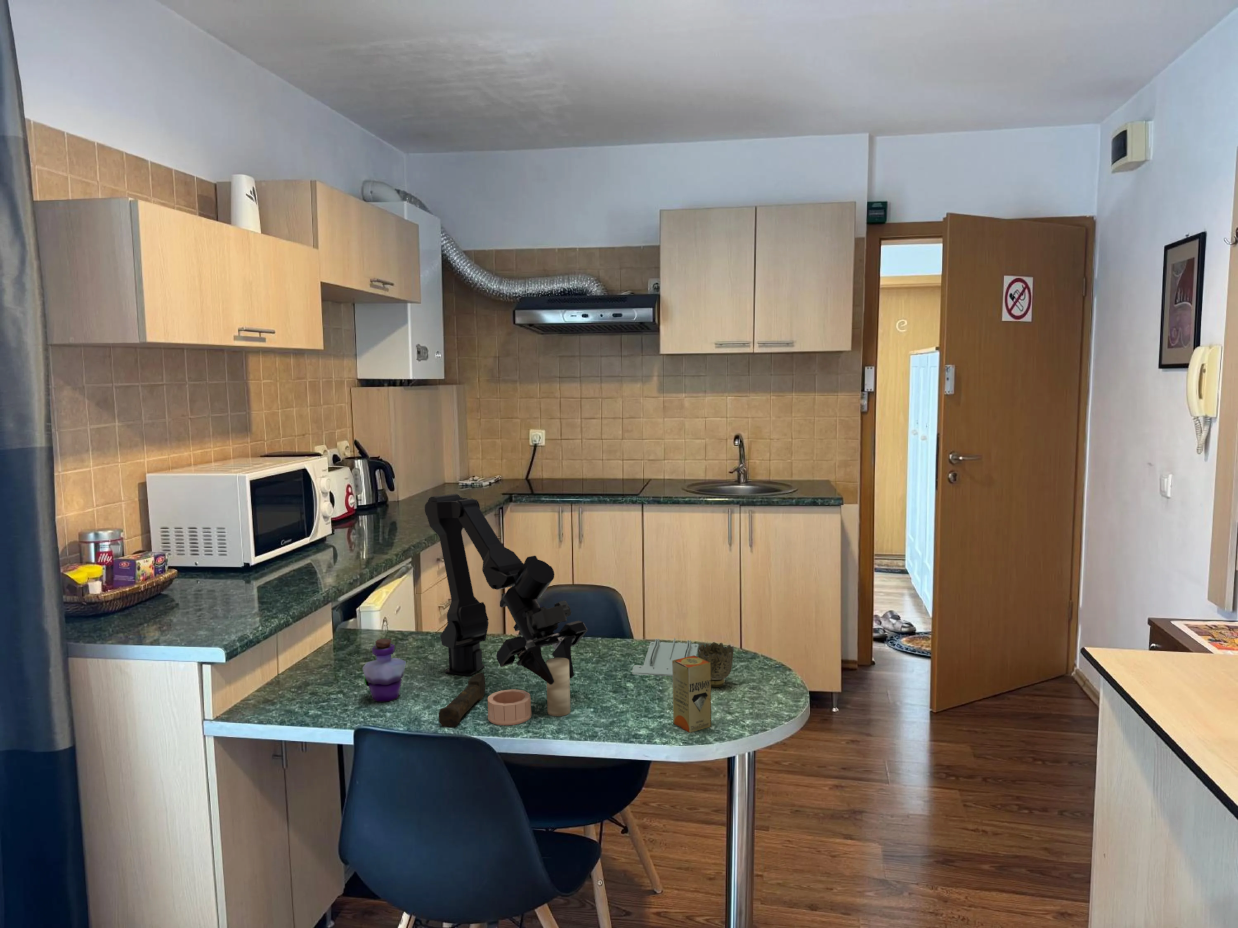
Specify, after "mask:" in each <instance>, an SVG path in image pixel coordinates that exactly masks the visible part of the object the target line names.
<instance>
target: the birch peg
mask: <svg viewBox="0 0 1238 928" xmlns="http://www.w3.org/2000/svg"><path fill="white" fill-rule="evenodd" d="M545 663H546V665H547V667H548V669H549V671H550V672H551V674H552V677H553V679H554V683H553V684H552V685H550V684H549V683H547V682H546V699H547V702H546V703H547V704H546V705H547V709H546V710H547V714H548V715H549V716H553V717H563V716H567V715H569V714H570V713H571V686H570V685H571V682H570V679H571V678H570V675H569V660H568V659H566V658H560V657H558V658H554V657H552V658H548V659H546V661H545Z"/></svg>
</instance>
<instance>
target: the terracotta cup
mask: <svg viewBox="0 0 1238 928" xmlns="http://www.w3.org/2000/svg"><path fill="white" fill-rule="evenodd" d="M531 700H532V699H531V694H530V693H529V692H527V691H525V690H522V689H515V688H513V689H501V690H499V691H495V692H493V693H491V694H490V695H488V696H487V720H488V721H489V723H491V724H494V725H496V726H515V725H519V724H523V723H525V722H527V721H529V720H530V719H531V718H532V707H531V706H532V704H531Z"/></svg>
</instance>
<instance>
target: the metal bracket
mask: <svg viewBox="0 0 1238 928" xmlns="http://www.w3.org/2000/svg"><path fill="white" fill-rule="evenodd" d="M699 645H700V644H699V643H692V640H688V639H687V641H686V643H684V642H683V643H682V642H676V638H675V637H674V638H673V641H672V642H665V641H661V642H660V638H655V641H650V643H649V646H648V650H647V652H646V656H645V658H644V662H643V665H639V664H635V665H633V666H632V670H631V675H637V676H639V675H640V676H647V675H649V676H664V677H665V676H666V677H673V670H672V660H676V659H681V658H685V657H689V656H693V655H694V656H697V655H698V649H699Z"/></svg>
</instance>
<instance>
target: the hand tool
mask: <svg viewBox="0 0 1238 928" xmlns="http://www.w3.org/2000/svg"><path fill="white" fill-rule="evenodd" d="M485 692H486V677H485V673H484V672H479V673H475V675H474V676H472V677H470V678H469V679H468V681H467V685H466V687H465V688H464V689H463V690H462V691H461V692H460V693H459V694H458V695H457V696H456V697H455V698H454V699H452V700H451V701H450V702H449V703H448V705H446V706H445V707H442V708H440V709H439V712H438V723H439V724H440V725H441V726H442V727H448V728H449V727H450V728H454V727H457V726H458V725H459V724H460V723H461V719H462V717H463V716H464V715H465V714H466V713H467V712H468V711H469V710H471V708H472V707H473V706H474V704H476V703H477V702H480V701H482V699H483V698H484V696H485Z"/></svg>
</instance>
